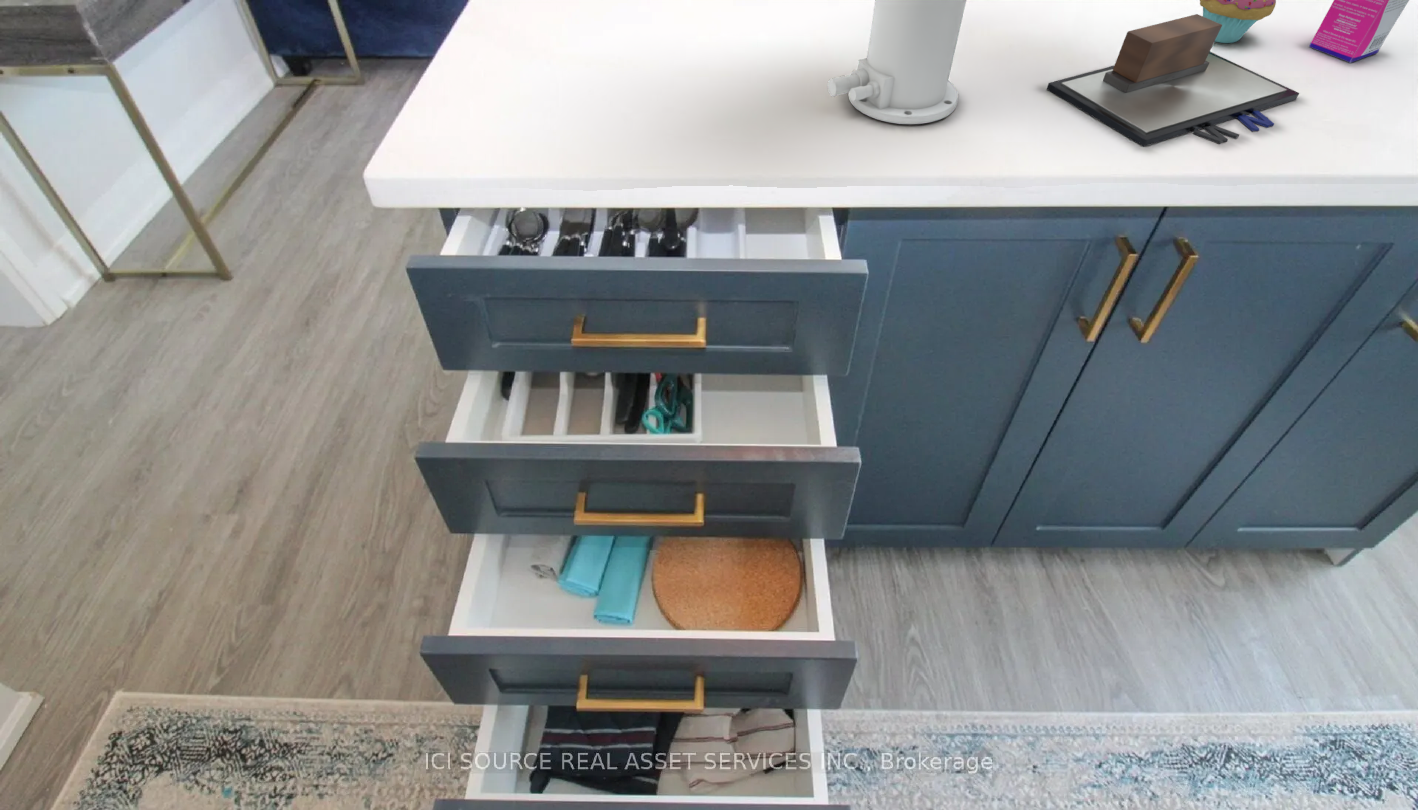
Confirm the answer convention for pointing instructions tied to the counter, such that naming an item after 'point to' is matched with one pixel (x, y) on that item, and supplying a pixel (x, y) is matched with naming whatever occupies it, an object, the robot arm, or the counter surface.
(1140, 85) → the eraser
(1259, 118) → the scribble
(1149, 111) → the whiteboard
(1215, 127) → the scribble
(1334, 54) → the supplement box
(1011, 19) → the counter surface
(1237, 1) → the cupcake
